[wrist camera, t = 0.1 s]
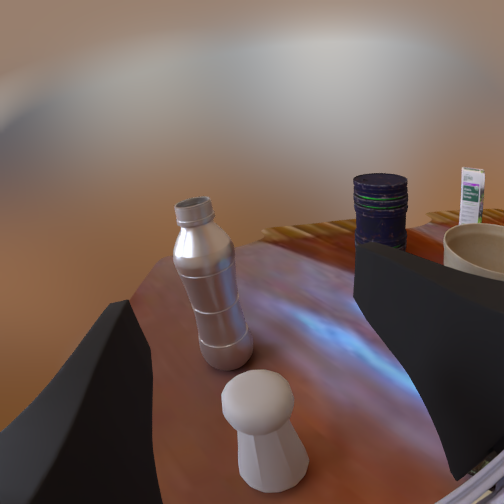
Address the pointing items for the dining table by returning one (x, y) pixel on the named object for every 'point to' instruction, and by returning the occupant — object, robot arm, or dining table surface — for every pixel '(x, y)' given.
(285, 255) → the dining table surface
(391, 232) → the storage jar
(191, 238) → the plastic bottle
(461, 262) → the planter bowl
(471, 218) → the syrup box
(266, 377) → the salt shaker
